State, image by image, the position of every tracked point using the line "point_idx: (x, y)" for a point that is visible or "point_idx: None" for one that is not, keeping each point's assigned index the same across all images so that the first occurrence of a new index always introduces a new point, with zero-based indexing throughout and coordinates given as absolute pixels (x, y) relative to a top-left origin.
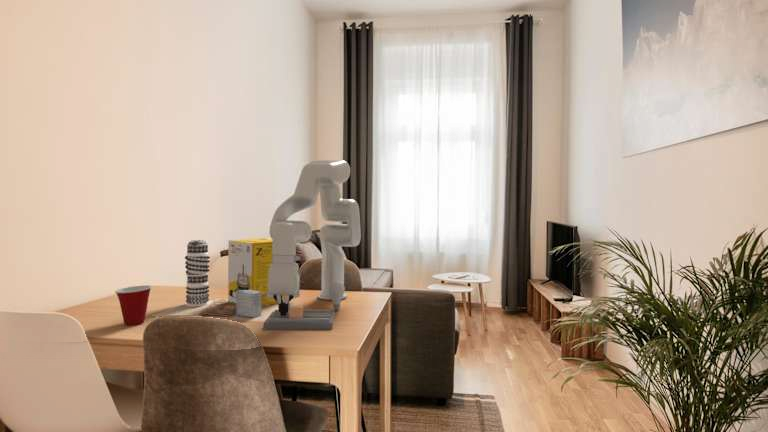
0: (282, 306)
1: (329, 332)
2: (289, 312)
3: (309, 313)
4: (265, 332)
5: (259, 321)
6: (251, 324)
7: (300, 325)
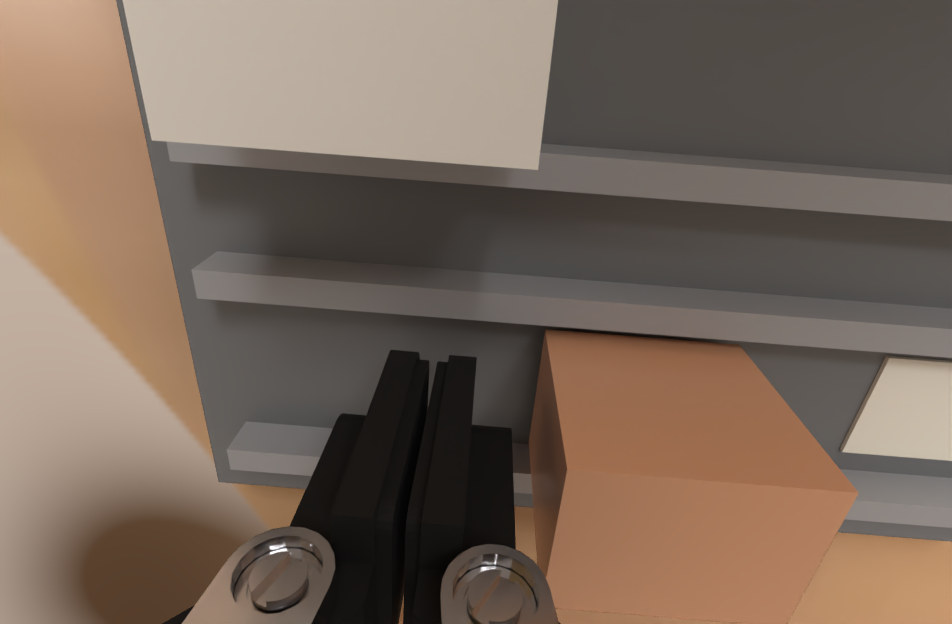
0: (397, 616)
1: (920, 568)
2: (535, 524)
3: (915, 217)
4: None
5: (43, 81)
6: (18, 240)
7: None
